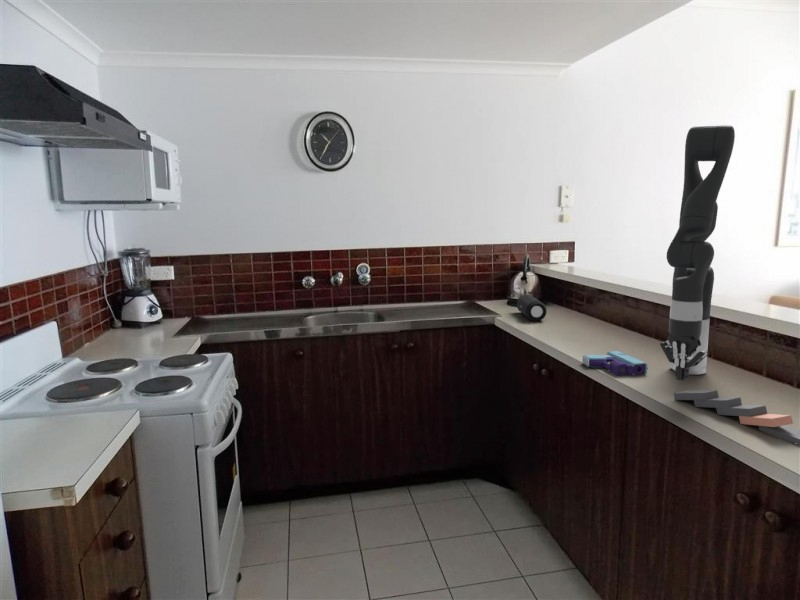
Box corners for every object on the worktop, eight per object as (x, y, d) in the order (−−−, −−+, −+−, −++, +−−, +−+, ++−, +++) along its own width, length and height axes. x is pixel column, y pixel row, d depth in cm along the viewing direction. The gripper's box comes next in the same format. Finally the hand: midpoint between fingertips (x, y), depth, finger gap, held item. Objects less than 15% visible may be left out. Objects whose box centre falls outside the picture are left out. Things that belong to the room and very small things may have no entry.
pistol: (578, 365, 172) (619, 361, 174) (603, 379, 156) (648, 375, 159) (578, 353, 171) (619, 350, 173) (604, 366, 156) (648, 362, 158)
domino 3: (716, 407, 126) (749, 408, 118) (731, 404, 128) (765, 405, 119) (717, 414, 126) (750, 416, 117) (733, 411, 127) (767, 413, 119)
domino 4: (738, 416, 120) (771, 418, 112) (757, 413, 121) (791, 415, 112) (740, 423, 120) (773, 427, 111) (758, 420, 121) (792, 423, 112)
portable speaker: (515, 312, 264) (515, 293, 262) (534, 312, 264) (535, 293, 262) (526, 322, 239) (527, 301, 237) (547, 322, 238) (548, 301, 237)
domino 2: (693, 399, 132) (726, 400, 123) (707, 397, 133) (740, 397, 125) (695, 406, 131) (727, 407, 123) (708, 404, 133) (742, 404, 125)
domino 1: (673, 393, 137) (703, 393, 129) (686, 390, 139) (717, 390, 130) (674, 399, 137) (705, 400, 128) (688, 397, 138) (718, 397, 130)
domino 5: (759, 424, 116) (801, 440, 108) (774, 420, 118) (817, 436, 110) (758, 431, 117) (800, 448, 108) (773, 428, 118) (816, 443, 110)
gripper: (719, 319, 130) (714, 384, 133) (672, 311, 142) (668, 371, 145) (700, 322, 127) (695, 389, 130) (654, 314, 139) (650, 375, 141)
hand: (681, 380), depth 137 cm, fingers closed
